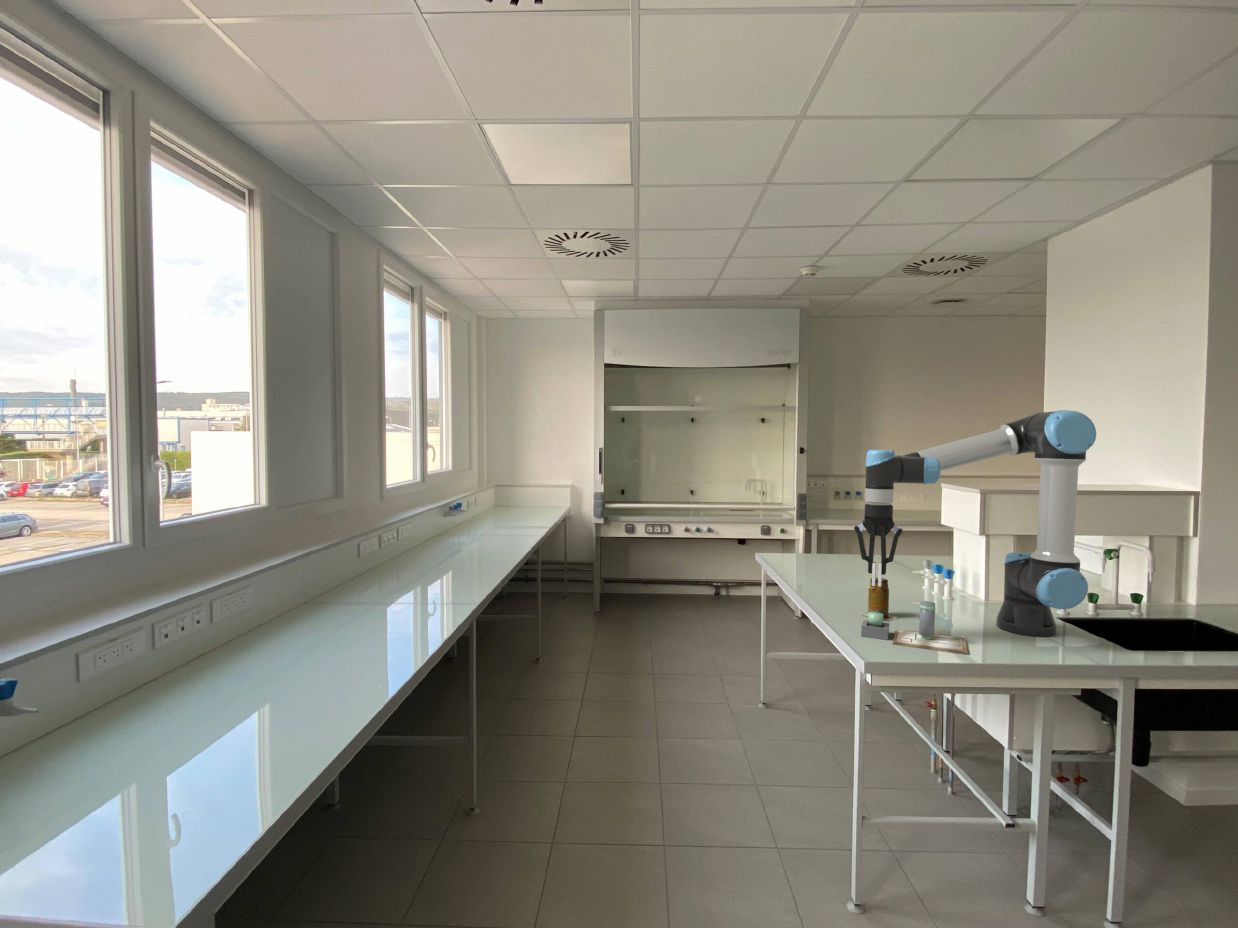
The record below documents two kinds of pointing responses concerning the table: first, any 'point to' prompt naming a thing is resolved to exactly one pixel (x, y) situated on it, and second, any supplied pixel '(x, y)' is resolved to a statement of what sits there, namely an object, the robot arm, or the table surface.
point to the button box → (875, 630)
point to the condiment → (879, 599)
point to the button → (875, 618)
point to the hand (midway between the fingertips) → (876, 585)
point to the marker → (927, 620)
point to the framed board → (930, 642)
